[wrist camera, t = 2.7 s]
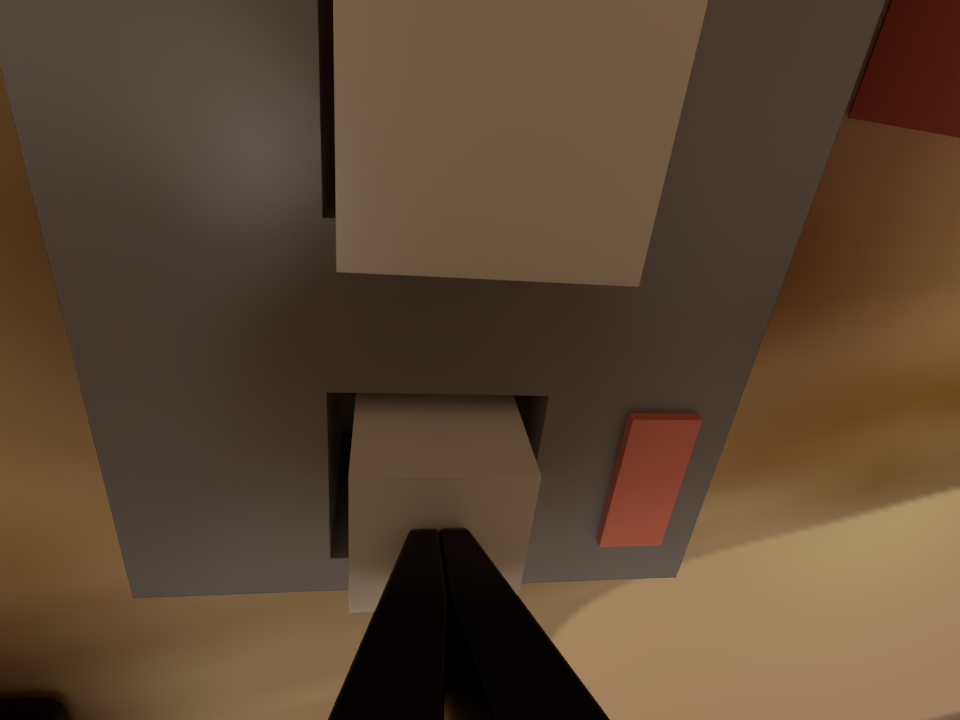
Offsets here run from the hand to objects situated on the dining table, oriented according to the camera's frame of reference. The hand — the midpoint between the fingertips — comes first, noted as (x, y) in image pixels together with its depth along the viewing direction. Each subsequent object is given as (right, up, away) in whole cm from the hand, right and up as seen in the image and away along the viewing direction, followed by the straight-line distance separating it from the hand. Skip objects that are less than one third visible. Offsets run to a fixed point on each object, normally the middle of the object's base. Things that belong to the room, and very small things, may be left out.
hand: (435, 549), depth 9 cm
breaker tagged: (0, +2, +3) cm, 3 cm away
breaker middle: (0, +6, -2) cm, 6 cm away
